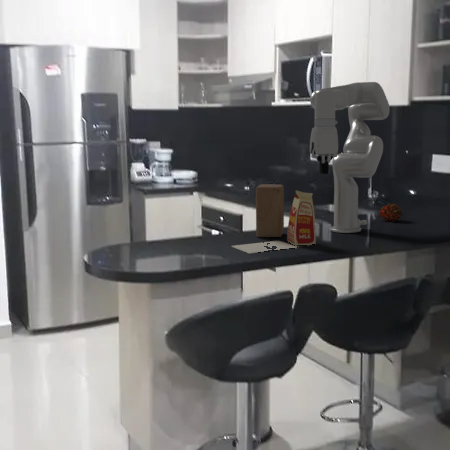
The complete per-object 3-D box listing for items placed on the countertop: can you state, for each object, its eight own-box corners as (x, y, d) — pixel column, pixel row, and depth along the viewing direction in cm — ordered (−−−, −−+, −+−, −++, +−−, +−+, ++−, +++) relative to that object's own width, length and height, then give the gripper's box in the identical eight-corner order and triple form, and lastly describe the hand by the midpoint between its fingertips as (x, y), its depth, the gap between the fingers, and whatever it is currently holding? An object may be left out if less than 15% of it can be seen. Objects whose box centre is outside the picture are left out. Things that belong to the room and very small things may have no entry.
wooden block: (281, 238, 250) (281, 187, 247) (255, 237, 252) (255, 186, 249) (284, 233, 260) (284, 184, 257) (259, 232, 262) (259, 184, 259)
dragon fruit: (400, 226, 280) (379, 226, 291) (410, 213, 284) (389, 214, 294) (391, 212, 277) (370, 212, 288) (401, 199, 281) (380, 200, 291)
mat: (278, 241, 244) (278, 240, 244) (298, 248, 232) (298, 247, 232) (231, 246, 236) (231, 245, 236) (248, 253, 223) (248, 253, 223)
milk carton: (295, 246, 235) (295, 191, 231) (286, 241, 244) (286, 189, 240) (318, 244, 237) (319, 190, 234) (308, 240, 246) (308, 188, 243)
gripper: (335, 123, 243) (334, 172, 246) (302, 124, 237) (301, 173, 240) (347, 123, 237) (346, 173, 240) (313, 124, 230) (312, 175, 233)
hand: (324, 173), depth 240 cm, fingers closed
